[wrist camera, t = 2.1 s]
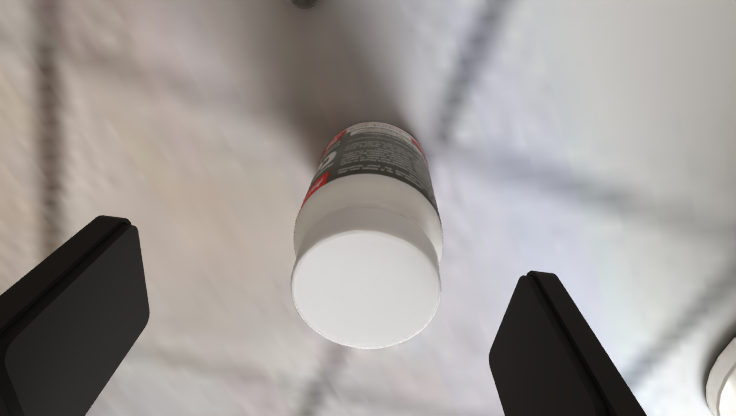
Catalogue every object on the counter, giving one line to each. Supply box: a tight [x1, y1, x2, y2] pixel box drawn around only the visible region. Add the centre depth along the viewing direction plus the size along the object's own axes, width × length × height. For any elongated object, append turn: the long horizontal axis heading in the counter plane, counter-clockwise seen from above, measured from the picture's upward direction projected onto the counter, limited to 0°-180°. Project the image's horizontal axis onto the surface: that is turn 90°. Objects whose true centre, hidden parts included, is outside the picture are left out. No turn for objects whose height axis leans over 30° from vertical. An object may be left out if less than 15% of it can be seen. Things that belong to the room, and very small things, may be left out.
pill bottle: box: [291, 122, 443, 349], centre depth 14 cm, size 5×5×8 cm
